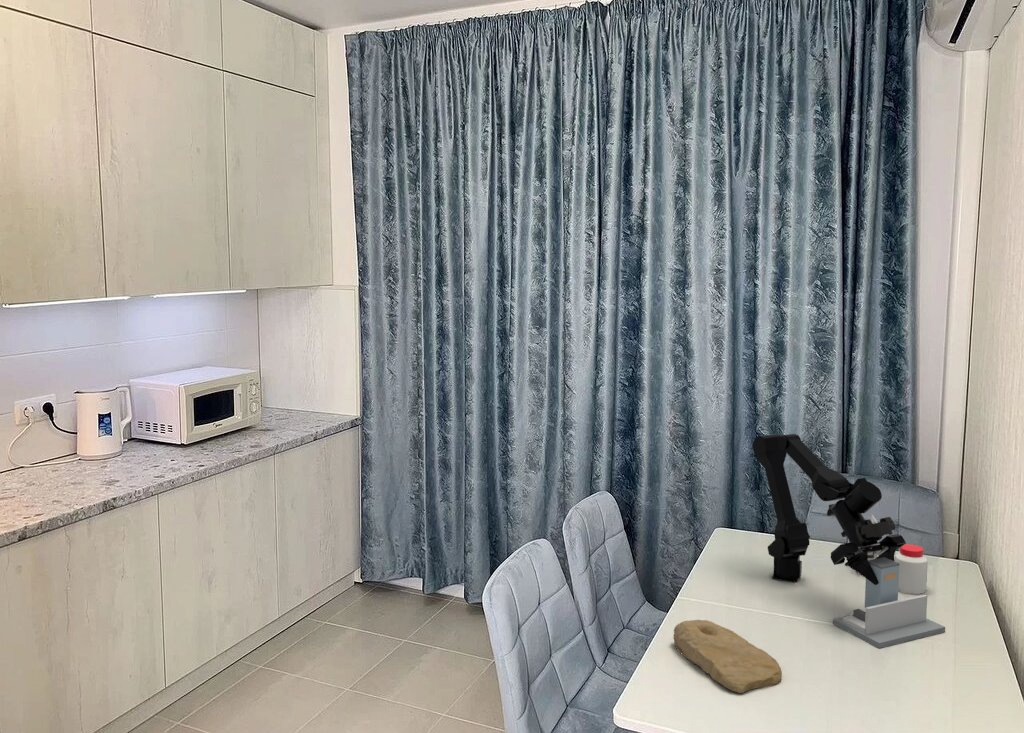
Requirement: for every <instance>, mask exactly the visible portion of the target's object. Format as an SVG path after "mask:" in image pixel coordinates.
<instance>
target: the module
mask: <svg viewBox="0 0 1024 733" xmlns="http://www.w3.org/2000/svg"><path fill="white" fill-rule="evenodd" d="M868 562H869V564H870V566H871V568H872V570H873V571H874V573H875V575H876V577H877V580H878V582H879V583H878V584H877V585H874V584H873V583H872V582H870V581H869V580H868V579H866V578H865V586H864V587H865V588H864V589H865V591H864V593H865V594H864V608H865V609H866V607H871V606H875V605H880V604H884V603H889V602H893V601H898V600H899V591H898V586H899V564H900V563H897V562H895V561H892V560H890V559H887V558H885V557H883V558H878V559H873V560H868Z"/></svg>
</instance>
